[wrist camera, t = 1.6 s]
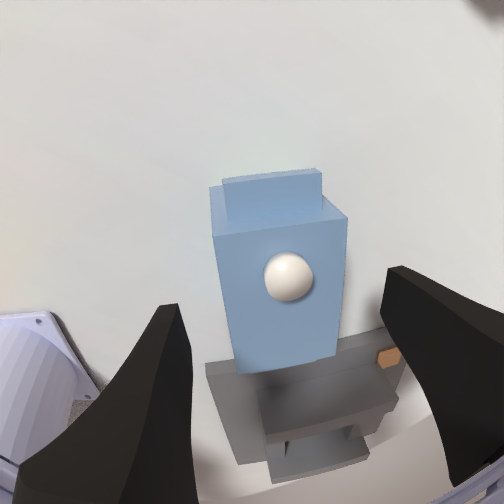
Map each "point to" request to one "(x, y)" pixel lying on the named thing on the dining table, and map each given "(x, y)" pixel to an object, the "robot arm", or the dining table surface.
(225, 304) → the block
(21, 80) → the dining table surface
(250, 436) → the board
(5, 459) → the robot arm
